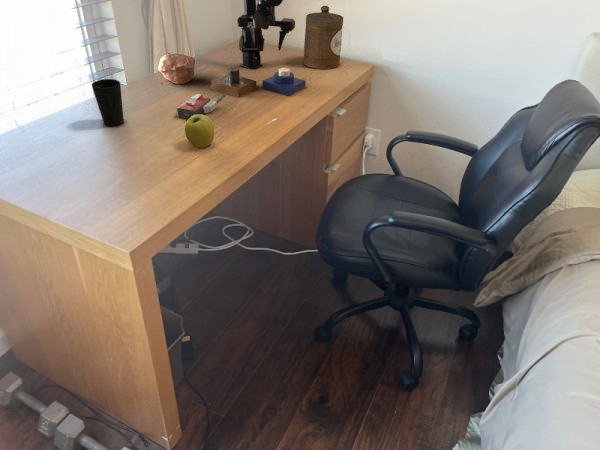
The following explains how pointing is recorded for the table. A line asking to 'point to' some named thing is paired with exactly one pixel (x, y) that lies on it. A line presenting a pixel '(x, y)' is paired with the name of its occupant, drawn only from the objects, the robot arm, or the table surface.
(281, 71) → the cap
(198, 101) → the walkie-talkie
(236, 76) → the dial
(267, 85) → the button housing
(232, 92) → the dial panel
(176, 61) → the decorative rock
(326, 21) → the wooden container
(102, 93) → the cup
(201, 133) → the apple
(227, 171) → the table surface
